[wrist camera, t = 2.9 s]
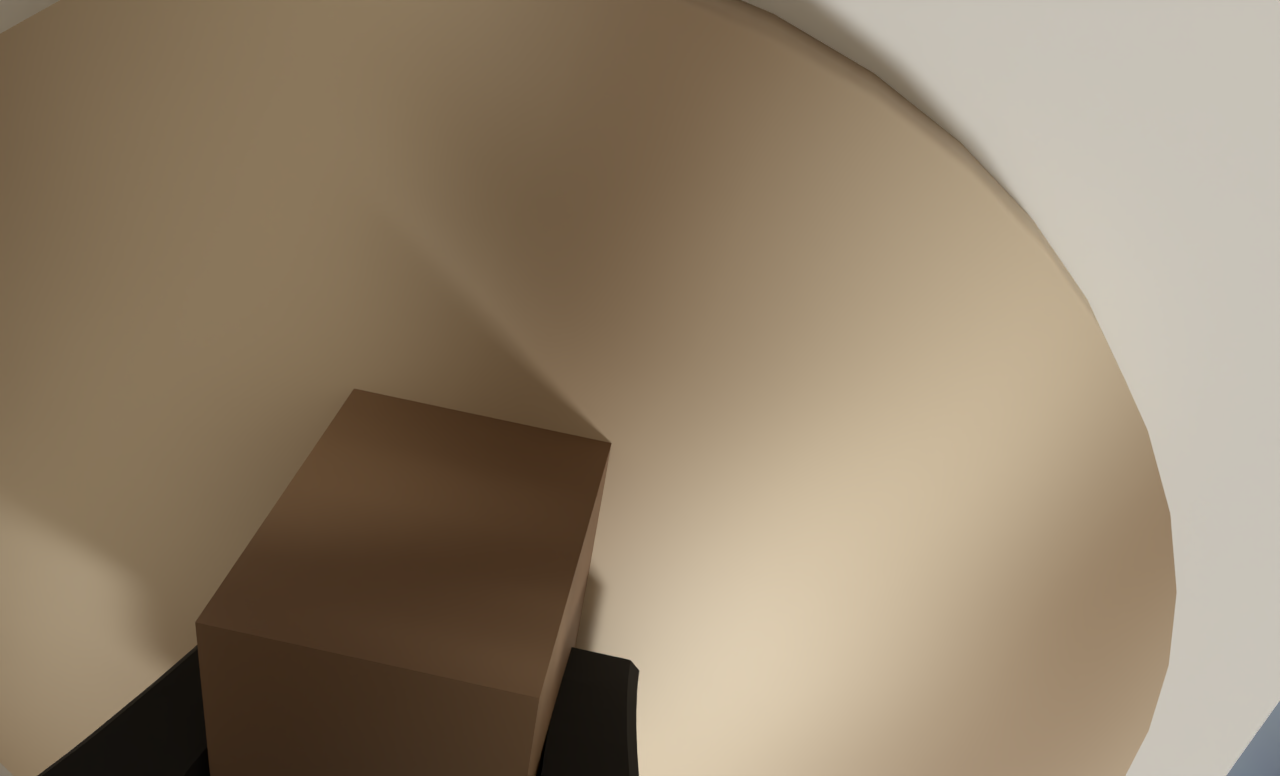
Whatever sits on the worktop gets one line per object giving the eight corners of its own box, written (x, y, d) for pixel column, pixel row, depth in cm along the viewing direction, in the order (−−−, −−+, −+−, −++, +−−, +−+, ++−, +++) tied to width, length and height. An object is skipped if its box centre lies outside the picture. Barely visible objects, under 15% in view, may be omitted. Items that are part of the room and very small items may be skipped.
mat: (1754, -72, 8) (1819, -56, 7) (979, 1073, 17) (984, 1114, 17) (-500, -499, 8) (-584, -510, 8) (-60, 834, 18) (-86, 868, 17)
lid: (1462, 115, 8) (1878, 383, 5) (914, 1043, 16) (939, 1383, 13) (-317, -234, 9) (-987, -194, 5) (-11, 831, 16) (-213, 1107, 13)
